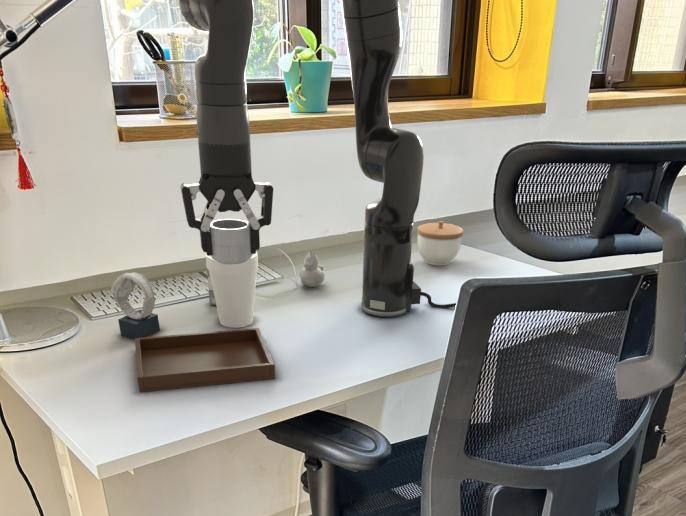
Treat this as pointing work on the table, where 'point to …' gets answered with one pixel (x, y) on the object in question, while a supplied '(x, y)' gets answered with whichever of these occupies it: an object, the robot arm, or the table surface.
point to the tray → (202, 359)
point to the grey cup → (230, 241)
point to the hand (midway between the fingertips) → (231, 253)
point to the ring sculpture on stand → (135, 321)
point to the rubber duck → (312, 271)
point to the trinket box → (439, 242)
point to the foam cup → (234, 290)
